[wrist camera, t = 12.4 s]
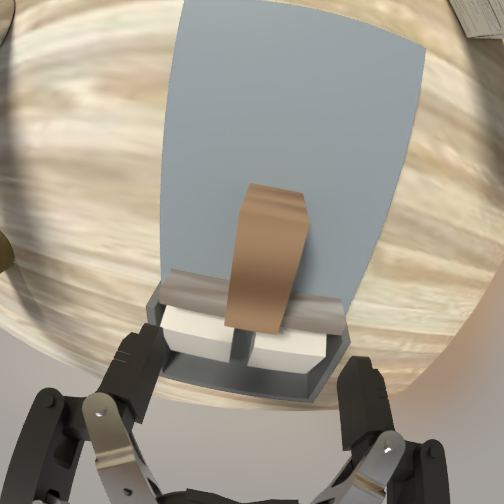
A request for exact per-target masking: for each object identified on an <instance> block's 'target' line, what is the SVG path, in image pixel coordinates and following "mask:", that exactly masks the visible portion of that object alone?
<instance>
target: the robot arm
mask: <svg viewBox="0 0 504 504" xmlns="http://www.w3.org/2000/svg"><path fill="white" fill-rule="evenodd" d="M13 13H14V0H0V46H1V44H2V42H3V40H4V38H5V36H6V34H7V31H8V29H9V26H10V23H11V21H12V17H13ZM165 353H166V348H165V340H164V332H163V327H160V326H156V325H152V324H148V323H145V324H144V325H143V326H142V328H141V331H140V333H139V334H137V333H133V332H131V333H130V334H129V335H128V336H127V337H125V338H124V339H123V340H122V342H121V344H120V346H119V348H118V351H117V352H116V354H115V356H114V359H113V360H112V362H111V364H110V366H109V368H108V370H107V372H106V374H105V376H104V378H103V380H102V383H101V385H100V387H99V388H98V390H97V391H96V392H95V393H93V394H91V395H89V396H88V397H69V396H62V394H61V393H60V392H59V391H58V390H56V389H54V388H44V389H42V390H41V391H40V392H39V393H38V394H37V396H36V398H35V400H34V402H33V404H32V406H31V409H30V411H29V413H28V416H27V418H26V420H25V423H24V425H23V428H22V431H21V433H20V436H19V438H18V441H17V444H16V447H15V450H14V452H13V456H12V458H11V461H10V464H9V468H8V471H7V474H6V478H5V482H4V485H3V490H2V493H1V498H0V504H70V503H68V499H69V495H70V491H71V487H72V483H73V479H74V476H75V471H76V468H77V465H78V461H79V458H80V454H81V451H82V448H83V445H84V441H91V442H92V445H93V448H94V451H95V454H96V460H95V464H96V468H97V471H98V474H99V476H100V479H101V481H102V484H103V486H104V488H105V491H106V493H107V495H108V498H109V500H110V502H111V504H299V503H298V500H276V499H271V500H266V501H259V502H251V503H239V502H236V501H233V500H231V499H228V498H225V497H222V496H219V495H217V494H214V493H208V492H203V491H197V490H193V489H188V488H187V490H186V491H179V492H171V493H167V494H164V495H163V493H162V491H161V489H160V487H159V486H158V484H157V482H156V480H155V478H154V477H153V475H152V473H151V471H150V470H149V468H148V466H147V464H146V462H145V460H144V458H143V456H142V454H141V451H140V449H139V447H138V445H137V442H136V440H135V438H134V435H133V433H132V428H133V425H134V422H137V423H140V424H142V422H143V419H144V416H145V413H146V410H147V407H148V404H149V401H150V398H151V396H152V393H153V390H154V387H155V384H156V382H157V379H158V376H159V373H160V370H161V368H162V365H163V362H164V359H165ZM337 392H338V401H339V411H340V421H341V432H342V445H343V451H350V450H351V453H352V456H351V457H350V458H349V459H348V461H347V462H346V463H345V465H344V466H343V467H342V469H341V470H340V472H339V473H338V474H337V476H336V477H335V478H334V479H333V481H332V482H331V483H330V484H329V486H328V487H327V488H326V489H325V490H324V491H323V492H321V493H320V494H319V495H318V496H317V497H316V498H315V499H314V500H313V501H312V502H311V503H310V504H381V503H382V502H383V500H384V498H385V495H386V493H385V492H384V488H385V486H386V485H387V504H450V494H449V483H448V473H447V465H446V458H445V452H444V448H443V446H442V444H441V443H440V442H439V441H437V440H434V439H430V440H428V441H426V442H425V443H423V444H420V443H415V442H410V441H406V440H404V438H403V437H402V436H401V435H400V434H399V433H398V432H396V431H395V428H394V425H393V419H392V414H391V409H390V404H389V400H388V395H387V391H386V386H385V382H384V378H383V377H382V375H381V374H380V372H379V371H378V369H373V368H372V364H371V360H370V358H369V357H363V356H352V357H351V358H350V359H349V361H348V362H347V364H346V365H345V367H344V368H343V370H342V372H341V373H340V375H339V377H338V381H337Z"/></svg>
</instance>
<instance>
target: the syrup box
mask: <svg viewBox="0 0 504 504" xmlns="http://www.w3.org/2000/svg"><path fill="white" fill-rule="evenodd" d="M449 1H450V3H451V5H452V7H453V9H454V11H455V13H456V15H457V17H458V19H459V21H460V23H461V25H462V27H463V30H464V32H465V34H466V36H467V38H473V39H475V38H489V39H504V0H449Z"/></svg>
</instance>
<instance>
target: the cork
mask: <svg viewBox="0 0 504 504" xmlns="http://www.w3.org/2000/svg"><path fill="white" fill-rule="evenodd" d="M13 264H14V254H13V250H12V248H11V245H10V243H9V241H8V240H7V238H6V237H5V235H4V234H3V233H2V232H1V231H0V273H2V272H3V271H5V270H6V269H8V268H9V267H11V266H12V265H13Z"/></svg>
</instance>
